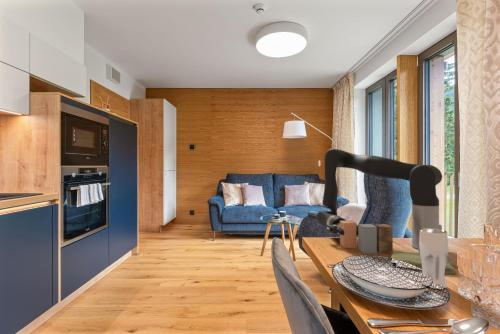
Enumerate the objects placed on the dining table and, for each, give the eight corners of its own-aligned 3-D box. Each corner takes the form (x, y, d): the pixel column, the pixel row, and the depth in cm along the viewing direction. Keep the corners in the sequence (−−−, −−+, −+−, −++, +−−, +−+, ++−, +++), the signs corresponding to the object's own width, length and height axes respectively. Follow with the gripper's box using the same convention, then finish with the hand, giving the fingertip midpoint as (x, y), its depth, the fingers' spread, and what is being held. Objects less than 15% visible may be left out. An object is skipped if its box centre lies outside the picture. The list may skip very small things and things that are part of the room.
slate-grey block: (371, 249, 110) (370, 224, 110) (376, 253, 105) (376, 226, 105) (358, 249, 110) (358, 224, 110) (363, 253, 105) (363, 226, 105)
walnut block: (386, 249, 110) (386, 223, 110) (392, 253, 105) (392, 226, 105) (373, 249, 110) (373, 224, 110) (379, 253, 105) (379, 226, 105)
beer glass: (439, 280, 80) (438, 228, 80) (454, 291, 73) (454, 233, 73) (413, 279, 81) (413, 227, 81) (426, 290, 74) (426, 233, 74)
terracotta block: (351, 244, 117) (351, 220, 117) (356, 247, 112) (356, 223, 112) (340, 244, 117) (339, 220, 117) (344, 247, 112) (343, 223, 112)
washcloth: (391, 256, 103) (391, 247, 103) (449, 264, 94) (449, 254, 94) (389, 267, 91) (389, 257, 91) (456, 277, 83) (456, 266, 83)
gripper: (321, 216, 129) (332, 223, 112) (352, 216, 129) (368, 223, 112) (321, 232, 129) (332, 242, 112) (352, 232, 129) (368, 242, 112)
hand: (350, 232), depth 112 cm, fingers closed on terracotta block, 5 cm apart
